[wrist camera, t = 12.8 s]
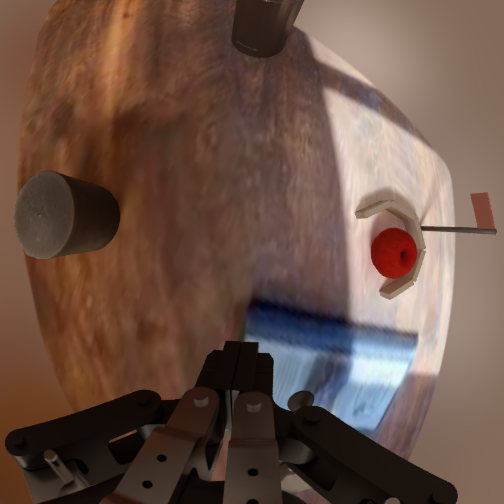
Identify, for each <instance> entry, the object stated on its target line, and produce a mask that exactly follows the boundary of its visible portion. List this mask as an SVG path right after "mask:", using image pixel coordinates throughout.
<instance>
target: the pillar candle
mask: <svg viewBox="0 0 504 504" xmlns="http://www.w3.org/2000/svg"><path fill="white" fill-rule="evenodd" d="M14 219H15V228H16V233H17V237H18V239H19V242H20V243H21V246H22V247H23V248H24V250H25V253H27V255H29V256H33V257H35V258H37V259H49V258H54V257H59V256H65V255H70V254H76V253H83V252H89V251H94V250H99V249H101V248H103V247H105V246H106V245H107V244H108V243H109V242H110V241H111V240H112V239H113V237H114V236H115V234H116V232H117V229H118V226H119V221H120V213H119V206H118V203H117V201H116V200H115V198H114V197H113V196H112V194H111V193H110V192H109V191H108V190H106V189H105V188H102V187H99V186H96V185H94V184H91V183H88V182H85V181H82V180H78V179H75V178H72V177H69V176H66V175H63V174H60V173H58V172H54V171H43V172H40V173H38V174H36V175H34V176H33V177H32V178H30V179H29V180H28V181H27V183H26V184H25V185H24V187H23V188H22V189H21V190H20V193H19V196H18V198H17V201H16V209H15V216H14Z"/></svg>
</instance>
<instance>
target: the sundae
mask: <svg viewBox="0 0 504 504" xmlns="http://www.w3.org/2000/svg"><path fill="white" fill-rule="evenodd" d="M313 402H314V396H313V394H312V393H310V392H308V391H301V392H298V393H296V394H294V395H293V396H291V398H290V399H289V401H288V408H289V409H290V410H291V411H293V412H295V411H296V410H298V409H299V408H301V407H304V406H312V404H313Z"/></svg>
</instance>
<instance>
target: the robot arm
mask: <svg viewBox="0 0 504 504" xmlns="http://www.w3.org/2000/svg"><path fill="white" fill-rule="evenodd" d="M303 2H304V0H237V1H236V8H235V15H234V22H233V29H232V42H233V44H234V46H235V47H236V48H237V49H238V50H239V51H241V52H243V53H245V54H247V55H250V56H254V57H269V56H273V55H275V54H277V53H279V52H280V51H281V50H282V49H283V46H284V44H285V42H286V40H287V37H288V35H289V33H290V31H291V28H292V26H293V24H294V22H295V20H296V17H297V15H298V13H299V11H300V9H301V6H302V4H303ZM258 348H259V343H258V342H243V343H242V342H241V341H226V342H225V345H224V348H223V351H222V350H213V351H212V352H211V353H210V354H209V355H207V358H206V360H205V364H204V365H203V367H202V370H201V372H200V375H199V377H198V380H197V382H196V384H195V387H194V388H192V389H190V390H188V391H186V392H185V393H184V395H183V396H182V398H181V399H175V400H161V397H160V395H159V394H158V393H156V392H154V391H151V390H138V391H135V392H133V393H130V394H127V395H125V396H122V397H120V398H117V399H114V400H112V401H109V402H106V403H103V404H100V405H98V406H95V407H92V408H89V409H86V410H83V411H80V412H77V413H74V414H71V415H68V416H64V417H61V418H58V419H54V420H51V421H47V422H44V423H40V424H37V425H33V426H29V427H25V428H21V429H16V430H14V431H12V432H10V433H9V434H8V435H7V437H6V439H5V446H6V449H7V451H8V452H9V453H10V455H11V456H12V457H13V458H14V459H15V461H16V462H17V463H18V465H19V466H20V467H21V468H22V470H23V474H24V477H25V480H26V483H27V486H28V489H29V492H30V495H31V497H32V500H33V503H34V504H306V503H305V502H304V501H303V500H301V499H300V498H298V497H296V496H295V495H293V494H290V493H288V492H286V491H283V490H281V477H280V464H279V460H282V461H285V463H286V465H287V466H288V467H289V468H290V469H291V470H292V471H293V472H294V473H295V474H297V475H298V476H299V477H300V478H301V479H302V480H303V481H305V482H306V483H307V484H308V485H309V486H310V487H312V488H313V489H314V490H315V491H316V492H318V493H319V494H320V495H321V496H323V497H324V498H325V499H326V500H328V501H329V502H330V503H332V504H456V502H457V498H458V494H457V490H456V488H455V487H454V485H452V484H451V483H449V482H447V481H445V480H443V479H441V478H439V477H437V476H435V475H433V474H431V473H429V472H427V471H425V470H423V469H421V468H420V467H417V466H416V465H414V464H412V463H410V462H408V461H407V460H405V459H403V458H401V457H400V456H398V455H396V454H394V453H393V452H391V451H389V450H388V449H386V448H384V447H382V446H381V445H379V444H378V443H376V442H374V441H373V440H371V439H369V438H368V437H366V436H365V435H363V434H362V433H360V432H358V431H357V430H355V429H354V428H352V427H351V426H349V425H348V424H346V423H345V422H343V421H342V420H340V419H339V418H337V417H336V416H334V415H333V414H331V413H330V412H329V411H327V410H326V409H324V408H322V407H319V406H304V407H301V408H299V409H298V410H296V411H295V412H293V411H289V410H286V409H283V408H281V407H279V406H278V405H277V404H276V403H275V402H274V400H273V396H272V395H273V364H274V360H273V358H272V357H271V355H270V354H269V353H258ZM225 429H232V431H231V440H230V441H229V445H228V454H227V465H226V476H225V481H211V478H212V474H213V471H214V468H215V465H216V462H217V459H218V456H219V454H220V451H221V448H222V445H223V437H224V433H225ZM133 430H137V432H136V433H133V434H131V435H129V436H126V437H124V438H121V439H119V440H116V441H114V442H111V443H109V441H110V440H112V439H114V438H116V437H119V436H121V435H124V434H126V433H129V432H131V431H133ZM102 481H103V482H102ZM97 483H98V484H97ZM94 484H95V485H94ZM91 485H93V486H91ZM89 486H90V487H89Z"/></svg>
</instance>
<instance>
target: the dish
mask: <svg viewBox="0 0 504 504" xmlns="http://www.w3.org/2000/svg"><path fill="white" fill-rule="evenodd" d="M280 477H281V490H283V491H286V492H288V493H290V494H293V495H295V496H296V495H297V494H298V493H300V492H301V491H303V490H306V489H313V488H312V487H310V486H309V485H308V484H307V483H306V482H305V481H303V480H302V479H301V478H300V477H299V476H298V475H297V474H295V473H294V472H293V471H292V470H291V469H290V468H289V467H288V466H287V465H286V463H284V464H282V465H280Z"/></svg>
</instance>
